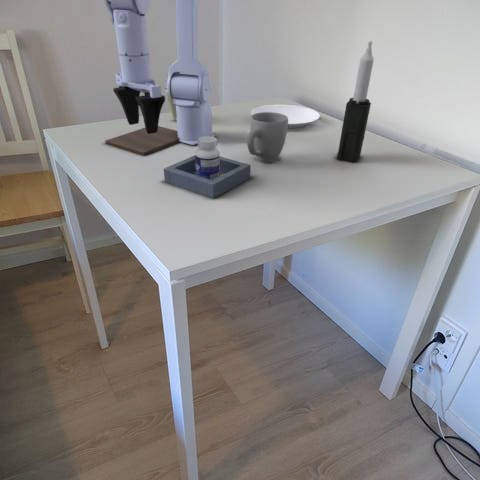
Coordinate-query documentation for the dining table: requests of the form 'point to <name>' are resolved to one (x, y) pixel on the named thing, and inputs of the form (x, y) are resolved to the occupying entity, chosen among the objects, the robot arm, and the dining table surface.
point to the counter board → (145, 140)
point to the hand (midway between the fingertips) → (142, 128)
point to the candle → (357, 112)
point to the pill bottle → (207, 158)
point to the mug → (267, 135)
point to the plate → (290, 113)
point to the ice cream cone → (170, 102)
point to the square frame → (185, 179)
